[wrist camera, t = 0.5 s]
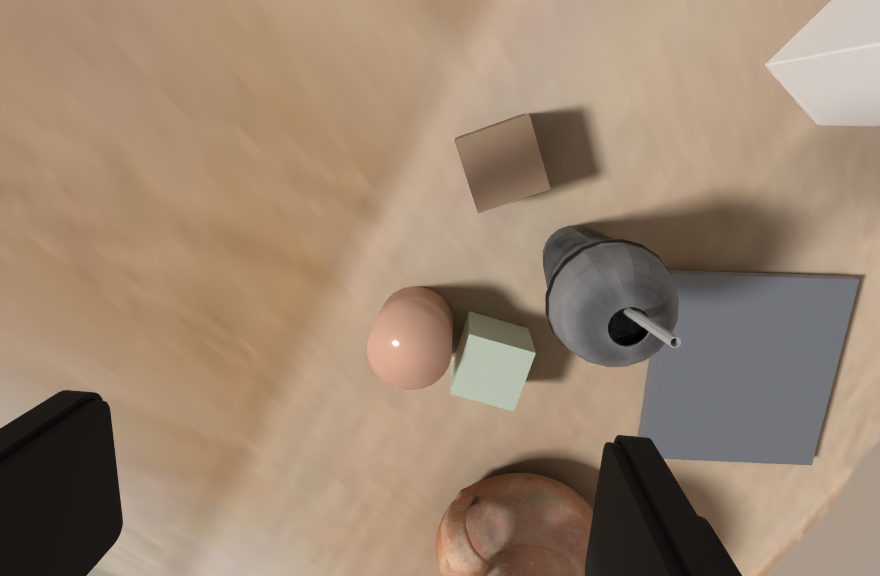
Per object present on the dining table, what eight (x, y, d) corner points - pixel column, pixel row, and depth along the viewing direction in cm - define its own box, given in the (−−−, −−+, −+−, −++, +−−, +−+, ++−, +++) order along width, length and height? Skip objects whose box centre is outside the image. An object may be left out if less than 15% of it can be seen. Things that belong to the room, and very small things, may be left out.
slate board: (662, 269, 42) (667, 274, 41) (848, 275, 41) (859, 279, 40) (636, 449, 47) (640, 457, 45) (803, 456, 46) (811, 465, 45)
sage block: (469, 310, 44) (469, 334, 39) (528, 327, 44) (535, 353, 39) (451, 364, 45) (449, 393, 40) (508, 381, 45) (513, 411, 41)
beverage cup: (508, 277, 43) (542, 404, 24) (551, 191, 41) (626, 255, 21) (591, 313, 43) (690, 465, 24) (637, 230, 41) (786, 326, 22)
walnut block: (455, 137, 40) (454, 140, 35) (521, 114, 39) (529, 113, 34) (476, 202, 41) (478, 213, 36) (540, 181, 40) (550, 189, 36)
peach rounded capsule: (379, 285, 43) (366, 310, 38) (454, 287, 43) (452, 313, 37) (380, 354, 45) (367, 388, 39) (452, 356, 45) (450, 391, 39)
